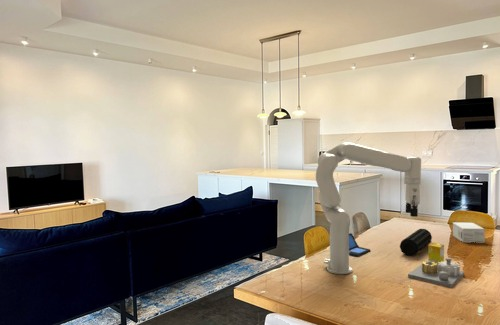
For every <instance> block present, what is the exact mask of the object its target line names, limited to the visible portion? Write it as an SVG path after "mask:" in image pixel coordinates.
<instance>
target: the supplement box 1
mask: <svg viewBox="0 0 500 325" xmlns="http://www.w3.org/2000/svg"><path fill="white" fill-rule="evenodd" d="M427 247H428V250H427V251H428V252H427V253H428V256H427V258H428V260H427V261H432V262H434V263H437V266H438V262H441V261H443V262H445V244H443V243H436V242H430V243H429V244H427Z"/></svg>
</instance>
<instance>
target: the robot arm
mask: <svg viewBox="0 0 500 325" xmlns="http://www.w3.org/2000/svg"><path fill="white" fill-rule="evenodd" d="M344 160H348V161H352V162H355V163H360V164H365V165H368V166H371V167H372V166H373V167H380V168H384V169H389V170H391V171H395V172H400V173H404V185H405V199H404V200H405V214H407V213H408V214H410V216H409V217H414V218H415V217H416V218H417V217H418V214H419V212H418V211H419V208H418V207H419V205H420V204H421V191H420V190H421V188H420V185H421V182H422V181H421V180H422V179H421V177H422V158H421V157H419V156H402V155H399V154H395V153H390V152H386V151H383V150H380V149H376V148H372V147H368V146H366V145H365V146H364V145H361V144H356V143H353V142H342V143H340V144H338V145H336V146H334V147H332V148H330V149H328V150H327V151H325V152H323V153H321V154H320V155H318V157H317V161H316V162H317V165H318V166H317V168H316V171H315V181H316V184H317V187H318V190H319V191H318V192H319V193H318V201H319V203H320V206H321V209H322V211H323V214H324V216H325V219H326V221H328V223H330V226H329V258H324V260H323V264H326V265H327V266H326V270H327V272H329V273H331V274H336V275H347V274H351V273H352V272H353V268H352V267H351V266H350V255H349V234H350V225H351V224H350V223H351V217H350V215H349V214H348V212H347V211H346V210H345V209H343V208H342V207H341V205H340V204H341V200H342V199H341V194H340V192H339V190H338V188H337V186H336V182H335V180H334V173H335V170H336V169H337V167H338V165H339V164H340V163H341V162H342V161H344Z"/></svg>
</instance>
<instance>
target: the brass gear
mask: <svg viewBox="0 0 500 325" xmlns="http://www.w3.org/2000/svg"><path fill="white" fill-rule="evenodd" d="M421 265H422V272H425V273H429V274H434V273H435V274H437V263H434V262H432V265H429V264H428V260H427V261H422V262H421Z"/></svg>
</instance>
